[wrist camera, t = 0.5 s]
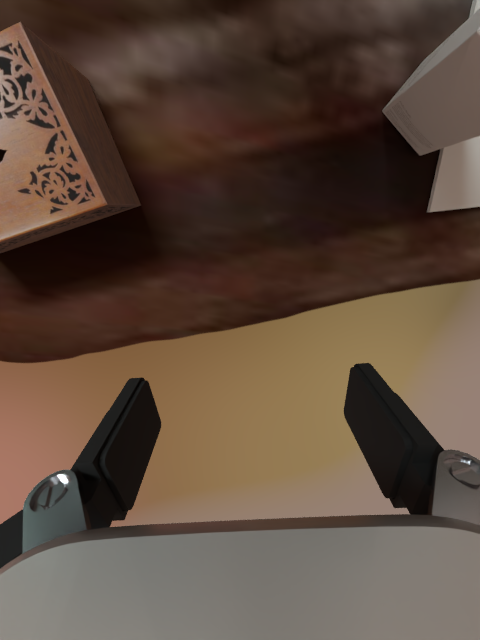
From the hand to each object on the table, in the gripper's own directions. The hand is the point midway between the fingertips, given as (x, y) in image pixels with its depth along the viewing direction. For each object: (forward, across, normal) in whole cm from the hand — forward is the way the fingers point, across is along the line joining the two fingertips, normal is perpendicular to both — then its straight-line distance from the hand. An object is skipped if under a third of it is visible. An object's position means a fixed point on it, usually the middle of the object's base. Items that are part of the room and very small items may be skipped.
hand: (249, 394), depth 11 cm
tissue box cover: (+31, +28, -14) cm, 44 cm away
